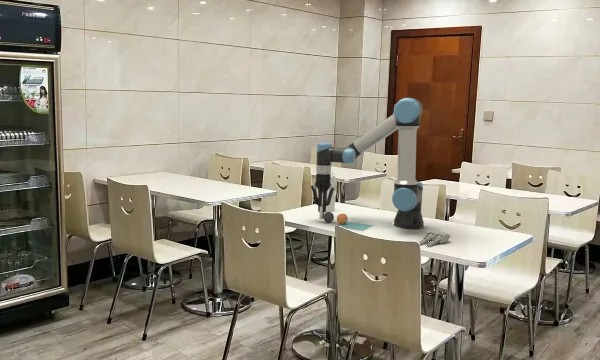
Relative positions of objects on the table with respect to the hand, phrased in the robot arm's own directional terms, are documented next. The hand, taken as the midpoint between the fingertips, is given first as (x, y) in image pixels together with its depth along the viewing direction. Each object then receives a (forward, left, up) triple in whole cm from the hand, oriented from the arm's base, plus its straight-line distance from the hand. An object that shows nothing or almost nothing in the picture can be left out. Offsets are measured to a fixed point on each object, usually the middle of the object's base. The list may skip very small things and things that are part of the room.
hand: (321, 218), depth 304 cm
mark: (-18, 0, -2) cm, 18 cm away
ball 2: (-11, 0, +1) cm, 11 cm away
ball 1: (-4, 0, +1) cm, 4 cm away
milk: (+9, -29, -2) cm, 30 cm away
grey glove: (-60, +12, -2) cm, 61 cm away
